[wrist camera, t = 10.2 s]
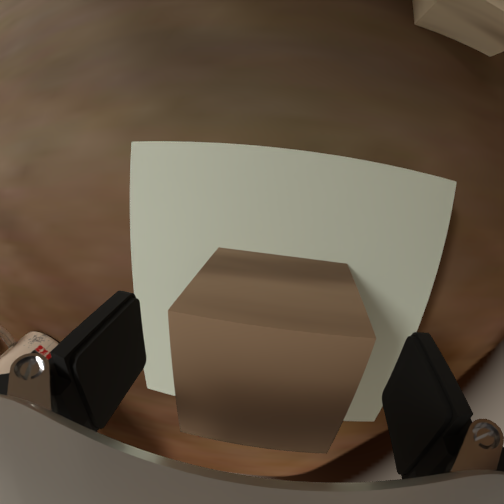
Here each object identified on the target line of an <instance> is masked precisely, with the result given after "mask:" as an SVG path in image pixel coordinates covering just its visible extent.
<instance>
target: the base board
mask: <svg viewBox="0 0 504 504" xmlns="http://www.w3.org/2000/svg"><path fill="white" fill-rule="evenodd" d="M455 189H456V181H452V180H449V179H445V178H441V177H438V176H434V175H430V174H426V173H422V172H418V171H413V170H409V169H405V168H400V167H396V166H391V165H386V164H381V163H376V162H371V161H366V160H360V159H355V158H349V157H343V156H337V155H330V154H324V153H317V152H309V151H302V150H294V149H285V148H276V147H265V146H254V145H242V144H227V143H207V142H169V141H149V142H132V144H131V166H130V236H131V258H132V273H133V286H134V294H135V296H136V298H138V299H139V301H140V309H141V319H142V328H143V336H144V343H145V351H146V364H145V366H144V372H145V378H146V383H147V388H149V389H152V390H156V391H159V392H163V393H166V394H170V395H174V396H175V388H174V379H173V370H172V359H171V348H170V336H169V322H168V309H169V308H170V307H171V306H172V304H173V303H174V302H175V301H176V299H177V298H178V297H179V296H180V294H181V293H182V292H183V291H184V289H185V288H186V287H187V286H188V284H189V283H190V282H191V281H192V279H193V278H194V277H195V276H196V274H197V273H198V272H199V271H200V269H201V268H202V267H203V266H204V264H205V263H206V262H207V261H208V260H209V258H210V257H211V256H212V255H213V253H214V252H215V251H216V250H217V249H218V247H220V248H228V249H236V250H244V251H252V252H260V253H268V254H276V255H283V256H291V257H299V258H307V259H315V260H323V261H331V262H339V263H346V264H348V267H349V269H350V271H351V274H352V276H353V279H354V281H355V284H356V286H357V289H358V291H359V294H360V296H361V299H362V301H363V304H364V306H365V309H366V312H367V314H368V317H369V320H370V322H371V325H372V328H373V330H374V333H375V336H376V341H375V344H374V347H373V350H372V352H371V355H370V358H369V361H368V363H367V366H366V368H365V371H364V374H363V376H362V379H361V381H360V383H359V386H358V388H357V391H356V393H355V395H354V398H353V400H352V402H351V405H350V407H349V409H348V411H347V414H346V416H345V418H344V420H343V421H375V419H376V417H377V415H378V413H379V412H380V410H381V408H382V406H383V404H382V393H383V390H384V388H385V386H386V384H387V382H388V380H389V378H390V376H391V373H392V371H393V369H394V367H395V365H396V362H397V360H398V358H399V355H400V353H401V350H402V348H403V346H404V343H405V341H406V339H407V337H408V336H411V335H412V334H413V333H414V332H417V330H418V327H419V324H420V322H421V319H422V316H423V314H424V311H425V308H426V305H427V302H428V299H429V296H430V293H431V290H432V287H433V284H434V280H435V277H436V274H437V270H438V267H439V263H440V259H441V256H442V252H443V248H444V244H445V240H446V235H447V231H448V226H449V222H450V217H451V212H452V206H453V201H454V195H455Z"/></svg>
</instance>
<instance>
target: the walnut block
mask: <svg viewBox="0 0 504 504" xmlns="http://www.w3.org/2000/svg"><path fill="white" fill-rule="evenodd" d="M168 322H169V336H170V348H171V359H172V370H173V379H174V388H175V396H176V404H177V412H178V419H179V426H180V432H184V433H188V434H192V435H196V436H200V437H204V438H209V439H214V440H218V441H223V442H229V443H234V444H240V445H246V446H252V447H259V448H267V449H275V450H284V451H295V452H308V453H327V452H328V450H329V448H330V446H331V444H332V443H333V441H334V439H335V437H336V435H337V433H338V430H339V428H340V426H341V424H342V422H343V420H344V418H345V416H346V414H347V411H348V409H349V407H350V405H351V402H352V400H353V398H354V395H355V393H356V391H357V388H358V386H359V383H360V381H361V379H362V376H363V374H364V371H365V368H366V366H367V363H368V361H369V358H370V355H371V352H372V350H373V347H374V344H375V341H376V336H375V333H374V330H373V328H372V325H371V322H370V320H369V317H368V314H367V312H366V309H365V306H364V304H363V301H362V299H361V296H360V294H359V291H358V289H357V286H356V284H355V281H354V279H353V276H352V274H351V271H350V269H349V267H348V264H346V263H339V262H331V261H323V260H315V259H307V258H299V257H291V256H283V255H276V254H268V253H260V252H252V251H244V250H236V249H228V248H220V247H218V249H217V250H216V251H215V252H214V253H213V255H212V256H211V257H210V258H209V260H208V261H207V262H206V263H205V264H204V266H203V267H202V268H201V269H200V271H199V272H198V273H197V274H196V276H195V277H194V278H193V279H192V281H191V282H190V283H189V284H188V286H187V287H186V288H185V289H184V291H183V292H182V293H181V294H180V296H179V297H178V298H177V299H176V301H175V302H174V303H173V304H172V306H171V307H170V308H169V309H168Z"/></svg>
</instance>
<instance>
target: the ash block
mask: <svg viewBox="0 0 504 504" xmlns="http://www.w3.org/2000/svg"><path fill="white" fill-rule="evenodd" d="M412 2H413V13H414V25H417V26H420V27H423V28H426V29H428V30H431V31H434V32H437V33H439V34H442V35H444V36H447V37H449V38H451V39H454V40H456V41H458V42H461V43H463V44H465V45H467V46H469V47H471V48H474V49H476V50H478V51H480V52H482V53H484V54H486V55H487V56H489V57H491V56H493V55H496V54H498V53H501V52H504V0H412Z"/></svg>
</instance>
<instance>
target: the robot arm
mask: <svg viewBox="0 0 504 504" xmlns="http://www.w3.org/2000/svg"><path fill="white" fill-rule="evenodd" d="M50 354H51V358H50V359H49V360H47V358H46V357H45V356H43V355H42V354H38V353H28V354H24V355H22V356H20V357H18V358H17V359H16V360H15V361H14V362H13V363H12V365H11V368H10V373H6V374H0V504H504V447H503V442H504V437H503V433H502V431H501V429H500V428H499V427H498V426H497V425H496V424H495V423H493V422H492V421H490V420H487V419H478V420H475V421H474V422H472V421H471V416H472V415H473V413H472V411H471V409H470V406H469V404H468V402H467V400H466V398H465V397H464V394H463V393H462V391H461V389H460V387H459V385H458V383H457V381H456V379H455V377H454V375H453V374H452V372H451V370H450V368H449V366H448V365H447V363H446V361H445V359H444V357H443V356H442V354H441V352H440V350H439V349H438V347H437V345H436V344H435V342H434V340H433V339H432V337H431V335H430V334H429V333H420V332H414V333H413V334H412V335H411V336H408V337H407V339H406V341H405V343H404V346H403V348H402V350H401V353H400V355H399V358H398V360H397V362H396V365H395V367H394V369H393V371H392V373H391V376H390V378H389V380H388V382H387V384H386V386H385V388H384V390H383V393H382V404H383V408H384V412H385V416H386V420H387V425H388V429H389V434H390V438H391V443H392V448H393V453H394V458H395V463H396V468H397V472H398V474H401V476H402V479H400V480H390V481H376V482H358V483H318V482H299V481H285V480H275V479H267V478H259V477H252V476H245V475H239V474H234V473H228V472H223V471H218V470H213V469H209V468H204V467H200V466H196V465H192V464H188V463H184V462H180V461H177V460H173V459H170V458H166V457H163V456H160V455H156V454H153V453H150V452H147V451H144V450H141V449H138V448H136V447H133V446H130V445H127V444H125V443H122V442H120V441H117V440H115V439H112V438H110V437H107V436H105V435H102V434H100V433H98V432H97V431H98V429H99V428H100V429H102V428H104V426H105V425H106V424H107V422H108V421H109V419H110V417H111V416H112V414H113V413H114V411H115V410H116V408H117V407H118V405H119V404H120V402H121V401H122V399H123V398H124V396H125V395H126V393H127V392H128V390H129V389H130V387H131V386H132V384H133V383H134V381H135V380H136V378H137V377H138V375H139V374H140V372H141V371H142V369H143V368H144V366H145V364H146V351H145V343H144V336H143V328H142V319H141V309H140V301H139V299H138V298H136V296H135V294H133V293H129V292H124V291H118V292H116V293H115V294H114V295H113V296H112V297H111V298H109V299H108V300H107V301H106V302H105V303H104V304H103V305H101V306H100V307H99V308H98V309H97V310H96V311H95V312H93V313H92V314H91V315H90V316H89V317H88V318H87V319H85V320H84V321H83V322H82V323H81V324H80V325H79V326H78V327H77V328H75V329H74V330H73V331H72V332H71V333H70V334H69V335H68V336H67V337H66V338H64V339H63V340H62V341H61V342H60V343H59V344H58V345H57V346H56V347H55V348H54V349H53V350H52V351H51V352H50Z"/></svg>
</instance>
